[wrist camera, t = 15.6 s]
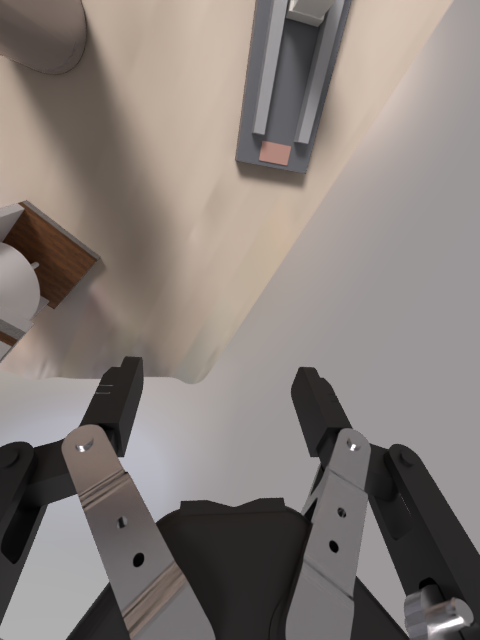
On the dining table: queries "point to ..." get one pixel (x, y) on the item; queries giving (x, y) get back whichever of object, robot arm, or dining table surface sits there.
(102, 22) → the dining table surface
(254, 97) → the grey rail track base
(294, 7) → the handle
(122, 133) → the dining table surface
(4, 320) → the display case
